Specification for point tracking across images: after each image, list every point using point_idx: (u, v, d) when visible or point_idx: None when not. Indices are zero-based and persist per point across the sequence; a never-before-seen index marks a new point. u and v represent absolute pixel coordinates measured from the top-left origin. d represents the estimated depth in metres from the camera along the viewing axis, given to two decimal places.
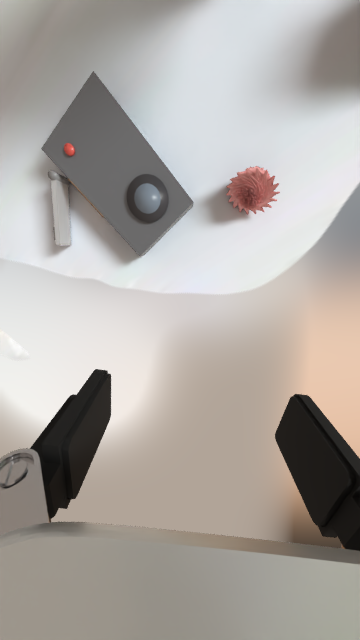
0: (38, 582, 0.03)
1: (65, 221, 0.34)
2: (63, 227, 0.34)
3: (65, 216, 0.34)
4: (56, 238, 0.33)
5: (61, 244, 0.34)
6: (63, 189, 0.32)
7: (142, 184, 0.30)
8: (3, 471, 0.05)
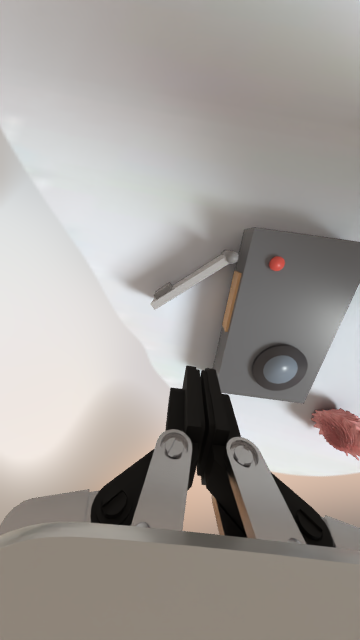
0: (38, 582, 0.03)
1: None
2: None
3: None
4: (159, 300, 0.22)
5: None
6: None
7: (292, 358, 0.23)
8: (167, 446, 0.07)
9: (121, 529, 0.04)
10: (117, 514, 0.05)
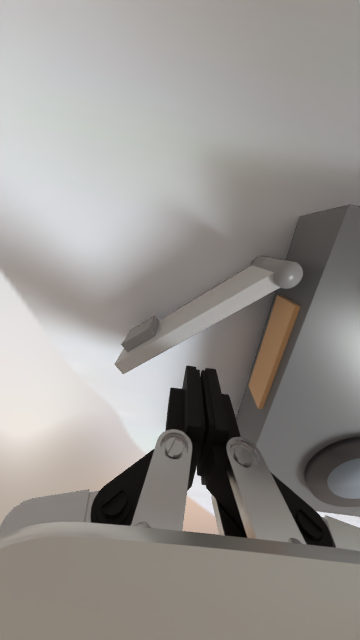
0: (38, 582, 0.03)
1: None
2: None
3: None
4: (130, 358, 0.11)
5: None
6: None
7: None
8: (167, 446, 0.07)
9: (121, 529, 0.04)
10: (117, 514, 0.05)
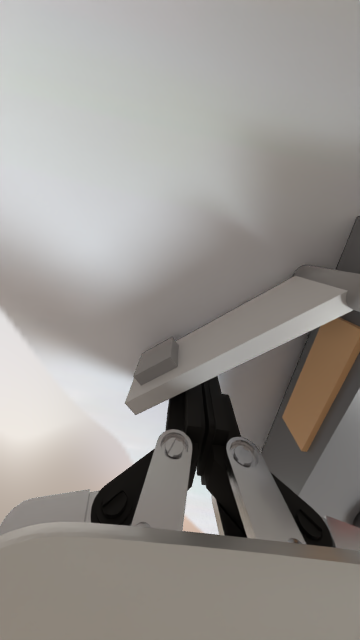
0: (38, 582, 0.03)
1: None
2: None
3: None
4: (146, 396, 0.09)
5: None
6: None
7: None
8: (168, 446, 0.07)
9: (121, 529, 0.04)
10: (117, 514, 0.05)
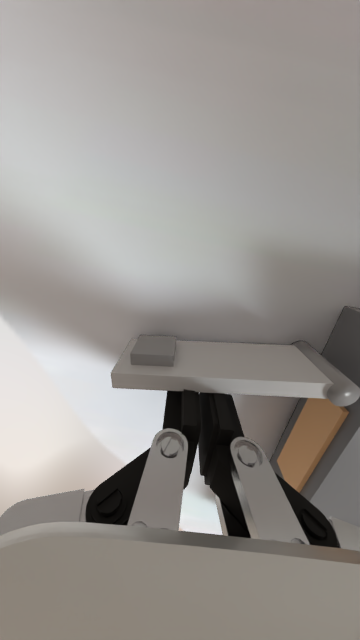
0: (38, 582, 0.03)
1: None
2: None
3: None
4: (134, 377, 0.09)
5: None
6: None
7: None
8: (163, 445, 0.07)
9: (121, 529, 0.04)
10: (112, 513, 0.05)
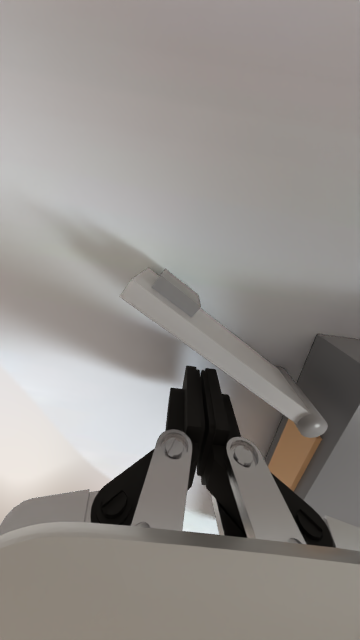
0: (38, 582, 0.03)
1: None
2: None
3: None
4: (152, 301, 0.07)
5: None
6: None
7: None
8: (167, 446, 0.07)
9: (121, 529, 0.04)
10: (117, 514, 0.05)
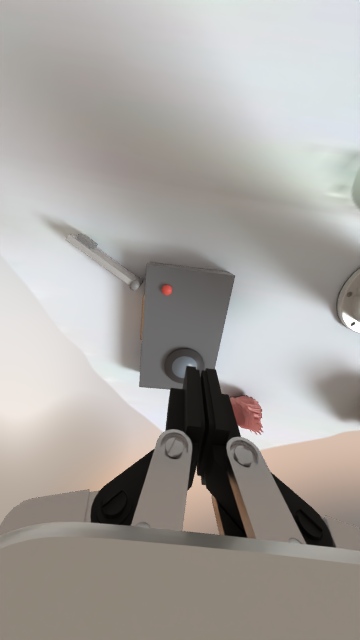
0: (38, 582, 0.03)
1: None
2: None
3: None
4: (75, 240, 0.25)
5: None
6: None
7: (191, 358, 0.31)
8: (167, 446, 0.07)
9: (121, 529, 0.04)
10: (117, 514, 0.05)
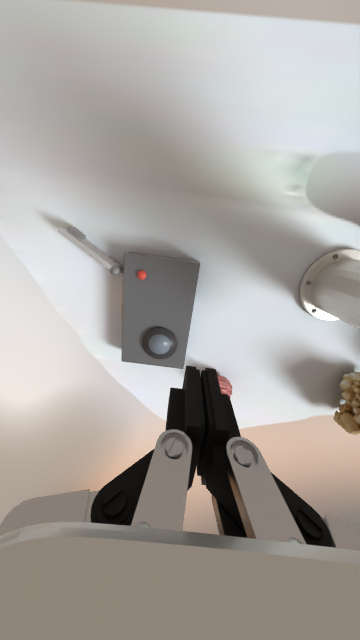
0: (38, 582, 0.03)
1: None
2: None
3: None
4: (65, 232, 0.30)
5: None
6: None
7: (165, 336, 0.35)
8: (167, 446, 0.07)
9: (121, 529, 0.04)
10: (117, 514, 0.05)
